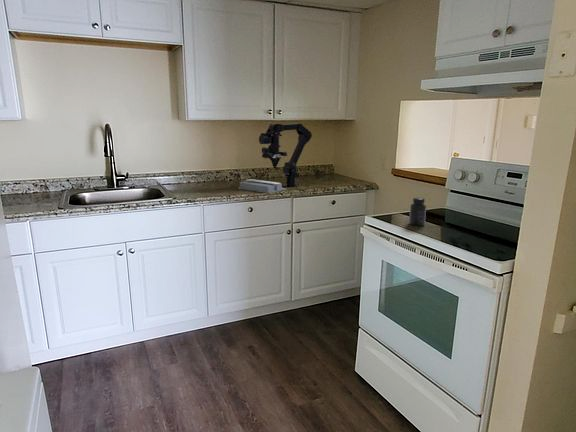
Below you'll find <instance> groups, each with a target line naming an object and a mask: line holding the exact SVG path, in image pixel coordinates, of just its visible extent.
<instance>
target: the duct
mask: <svg viewBox="0 0 576 432" xmlns="http://www.w3.org/2000/svg"><path fill="white" fill-rule="evenodd" d="M237 188H238V189H240V190H246V191H251V192H252V191H253V192H258V193H259V192H260V193H264V194H265V193H266V194H272V193H273V194H274V193H276V192H282V191H286V190H287V188H286V187H283V185H282V183H281V184H268V183H261V182H254V181H247V180H245V181H241V182H239V187H237Z"/></svg>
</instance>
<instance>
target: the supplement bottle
mask: <svg viewBox="0 0 576 432" xmlns="http://www.w3.org/2000/svg"><path fill="white" fill-rule="evenodd" d="M425 203H426V201H425V198H424V197H420V196H415V197H413V199H412V203H411V204H410V207H409V219H408V223H409V225H411V226H414V227H423V226H425V224H426V217H427V216H426V213H427V205H426V204H425Z"/></svg>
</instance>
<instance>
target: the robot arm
mask: <svg viewBox="0 0 576 432" xmlns="http://www.w3.org/2000/svg"><path fill="white" fill-rule="evenodd" d="M291 130H292V131H296V133H297V135H298V137H297V139H298V140H297V143H296V146H295V148H294V150H293V153H292V155H291V157H290V159H289V160H288V162H287V161H285V163H284V165H283V166H282V168H283V169H282V172H283V173H284V177H286V184H285V185H284V186H285V187H291V188H293V187H298V186H299V185H298V184H297V178H299V176H300V174H299V173H298V172H297V170H298V169H297V168H298V167H297V164H298V161H299V159H300V157H301V155H302V153H303V150H304V148H305V146H306V145H307V144H308V143H309V142H310V140H311V139H312V137H313V135H312V132H311V131H310V130H309V129H308V128H306V127H305V126H304V125H303V124H302V123H298V122H297V123H287V124H284V123H283V124H282V123H272V122H271V123H270V124H269V126H268V128H267V129H266V132H265V133H264V132H261V133H260V135H259V137H258V143H259V144H260V145H268V147H267V148H266V147H264V146H263V147H262V148H261V153H262V154H261V158H262V159H263V158H264V159H269V160H270V161H271V164H272V166H273V168H274V169H276V168H277V166H278V165H279V162H280V161H281V159H282V156H283V157H287V156H288V152H287V151H283V150H282V151H281V150H280V148H281V147H282V146H281V144H280V137H283V135H282V134H281V133H282V132H284V131H291Z"/></svg>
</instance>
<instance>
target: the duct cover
mask: <svg viewBox="0 0 576 432" xmlns="http://www.w3.org/2000/svg"><path fill="white" fill-rule="evenodd" d="M245 181H254V182H261V183H268V184H282V183H281V182H276V181H267V180H262V179H255V178H253V179H252V178H249V179H245Z"/></svg>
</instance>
